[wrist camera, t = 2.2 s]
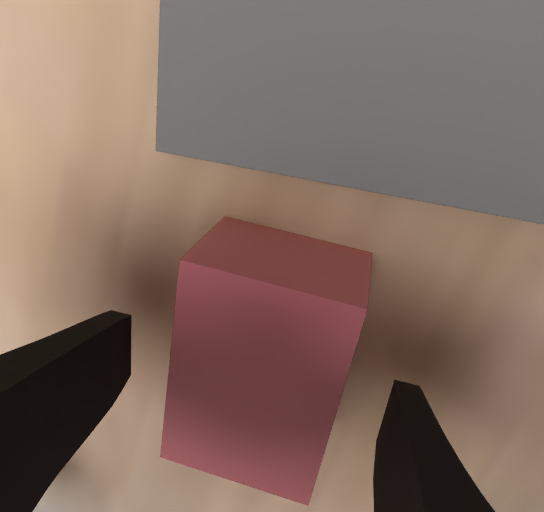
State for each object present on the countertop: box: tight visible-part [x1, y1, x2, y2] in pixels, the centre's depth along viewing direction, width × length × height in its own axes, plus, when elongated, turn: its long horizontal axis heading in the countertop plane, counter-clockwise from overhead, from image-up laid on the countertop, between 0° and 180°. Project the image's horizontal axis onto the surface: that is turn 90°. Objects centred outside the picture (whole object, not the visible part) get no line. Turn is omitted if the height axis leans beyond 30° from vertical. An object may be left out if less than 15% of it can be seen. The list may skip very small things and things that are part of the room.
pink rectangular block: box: [160, 217, 372, 505], centre depth 13 cm, size 4×6×4 cm
